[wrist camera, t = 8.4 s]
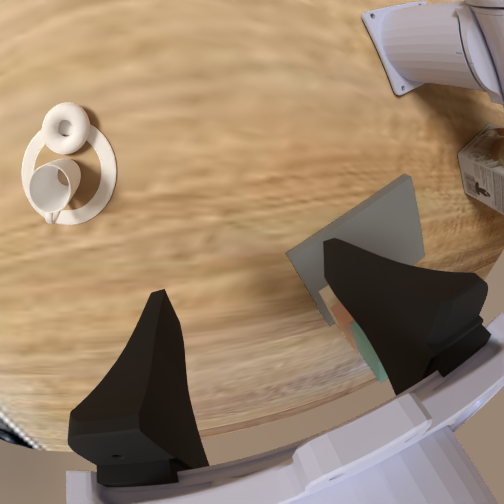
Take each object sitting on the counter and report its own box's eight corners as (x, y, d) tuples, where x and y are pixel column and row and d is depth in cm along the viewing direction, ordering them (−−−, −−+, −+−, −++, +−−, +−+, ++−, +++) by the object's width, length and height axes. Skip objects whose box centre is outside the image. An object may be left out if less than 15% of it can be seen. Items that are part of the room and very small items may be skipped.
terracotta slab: (378, 273, 25) (394, 289, 23) (387, 306, 28) (401, 321, 26) (330, 307, 25) (343, 325, 23) (345, 336, 28) (356, 353, 26)
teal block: (392, 297, 23) (422, 329, 19) (394, 325, 26) (420, 355, 22) (350, 324, 23) (377, 361, 19) (357, 349, 26) (380, 383, 22)
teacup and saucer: (60, 89, 14) (36, 89, 11) (145, 143, 18) (138, 153, 15) (11, 192, 16) (-13, 211, 13) (87, 239, 20) (74, 267, 17)
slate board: (404, 173, 24) (411, 176, 24) (419, 252, 30) (424, 256, 30) (285, 253, 25) (289, 258, 24) (325, 320, 31) (329, 326, 30)
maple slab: (364, 259, 27) (378, 273, 25) (375, 293, 30) (387, 306, 28) (318, 291, 27) (330, 307, 25) (334, 321, 30) (345, 336, 28)
